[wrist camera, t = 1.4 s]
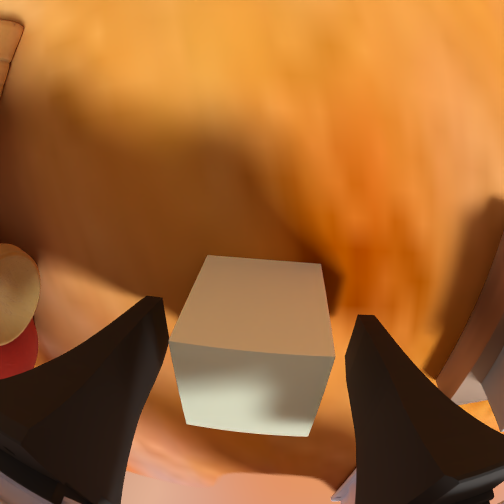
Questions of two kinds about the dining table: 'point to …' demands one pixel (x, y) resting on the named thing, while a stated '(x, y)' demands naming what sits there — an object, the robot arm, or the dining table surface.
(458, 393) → the walnut slab
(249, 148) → the dining table surface
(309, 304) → the sage block
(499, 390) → the slate cube
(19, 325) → the kendama
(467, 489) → the robot arm
